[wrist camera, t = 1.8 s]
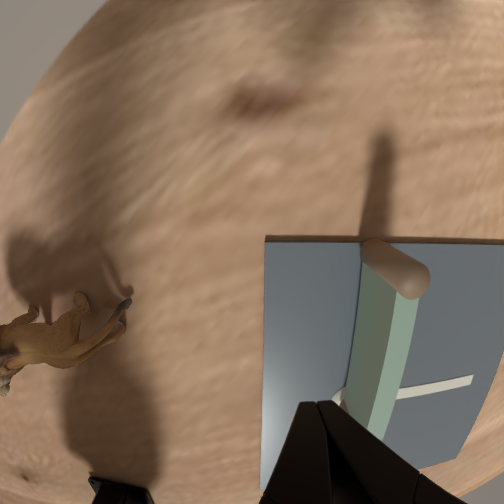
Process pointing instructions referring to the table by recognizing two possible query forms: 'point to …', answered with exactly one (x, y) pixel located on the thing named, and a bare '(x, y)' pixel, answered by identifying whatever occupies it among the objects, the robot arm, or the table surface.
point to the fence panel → (382, 332)
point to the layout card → (420, 351)
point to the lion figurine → (53, 340)
